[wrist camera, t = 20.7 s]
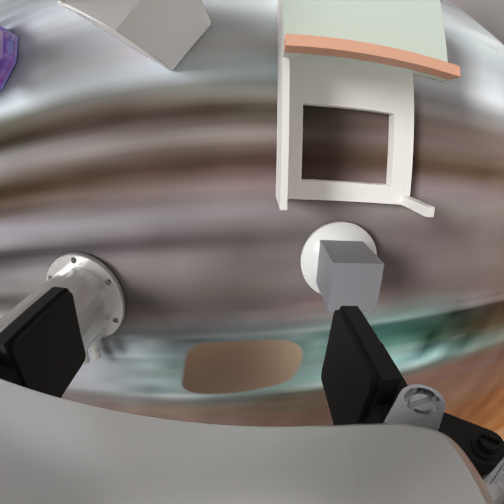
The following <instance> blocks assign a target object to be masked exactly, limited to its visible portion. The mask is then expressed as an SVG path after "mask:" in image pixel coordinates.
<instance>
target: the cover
mask: <svg viewBox="0 0 504 504" xmlns="http://www.w3.org/2000/svg"><path fill="white" fill-rule="evenodd" d="M282 37H283V57H293V58H308V59H320V60H330V61H338V62H346V63H354V64H361V65H367V66H373V67H379V68H384V69H390V70H395V71H400V72H404V73H409V74H413V75H417V76H422V77H426V78H430V79H433V80H437V81H441V82H442V81H446V80H450V79H454V78H458V77H461V75H460V66H458V65H455V64H452V63H449V62H448V59H447V48H446V39H445V31H444V23H443V16H442V10H441V4H440V0H282Z"/></svg>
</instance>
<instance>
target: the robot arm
mask: <svg viewBox="0 0 504 504" xmlns="http://www.w3.org/2000/svg"><path fill="white" fill-rule="evenodd" d="M124 315H125V299H124V294H123V291H122V288H121V286H120V284H119V282H118V280H117V279H116V277H115V276H114V274H113V273H112V272H111V271H110V270H109V269H108V268H107V267H106V265H105V264H103V263H102V262H101V261H99V260H98V259H96V258H94V257H92V256H90V255H88V254H84V253H79V252H72V253H67V254H65V255H62V256H61V257H59V258H58V259H56V260H55V261H54V262H53V263H52V264H51V266H50V268H49V270H48V273H47V276H46V282H45V283H44V284H43V285H41V286H40V287H39V288H38V289H36V290H35V291H34V292H32V293H31V294H30V295H29V296H27V297H26V298H25V299H24V300H23V301H21V302H20V303H19V304H18V305H16V306H15V307H14V308H13V309H12V310H10V311H9V312H8V313H7V314H6V315H4V316H3V317H2V318H1V319H0V504H504V441H503V440H502V438H501V437H500V436H499V435H498V434H497V433H495V432H493V431H491V430H488V429H486V428H483V427H480V426H478V425H475V424H472V423H470V422H467V421H465V420H462V419H460V418H457V417H455V416H452V415H450V414H447V413H445V412H444V410H445V401H444V398H443V397H442V395H441V394H440V393H439V392H438V391H436V390H435V389H433V388H431V387H429V386H425V385H421V384H414V385H409V386H408V385H407V384H406V382H405V380H404V379H403V377H402V375H401V373H400V372H399V370H398V368H397V367H396V365H395V363H394V362H393V360H392V359H391V357H390V355H389V354H388V352H387V350H386V349H385V347H384V345H383V344H382V343H381V342H380V341H379V339H378V337H377V336H376V334H375V333H374V331H373V329H372V328H371V326H370V325H369V323H368V321H367V320H366V318H365V317H364V315H363V313H362V312H361V310H360V309H359V307H358V306H341V307H340V309H339V310H335V311H334V315H333V320H332V325H331V330H330V335H329V340H328V345H327V350H326V354H325V359H324V364H323V368H322V373H321V379H322V384H323V387H324V391H325V394H326V398H327V401H328V405H329V408H330V412H331V415H332V419H333V423H334V425H327V426H296V427H261V426H234V425H218V424H205V423H194V422H184V421H175V420H168V419H160V418H153V417H147V416H140V415H135V414H129V413H123V412H118V411H113V410H108V409H104V408H99V407H95V406H90V405H86V404H82V403H78V402H74V401H70V400H67V399H63V398H61V397H62V395H63V393H64V392H65V390H66V389H67V387H68V386H69V384H70V383H71V381H72V379H73V378H74V376H75V375H76V373H77V372H78V370H79V369H80V367H81V366H82V365H83V364H87V363H89V362H90V357H89V354H88V348H89V347H90V351H91V355H92V358H93V359H99V358H100V357H101V353H100V349H99V347H98V343H99V341H100V340H101V339H102V338H104V337H107V336H109V335H111V334H113V333H114V332H115V331H116V330H117V329H118V327H119V326H120V325H121V323H122V321H123V319H124Z"/></svg>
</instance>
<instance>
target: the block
mask: <svg viewBox="0 0 504 504" xmlns="http://www.w3.org/2000/svg"><path fill="white" fill-rule="evenodd" d="M383 270H384V263H383V262H382V261H381V260H380V259H379V258H378V256H377V255H376V254H375V253H374V252H373V251H372V250H371V249H370V248H369V247H368V246H367V245H366V244H365V243H364V242H363V241H339V240H320V245H319V256H318V267H317V277H316V283H317V286H318V288H319V291H320V294H321V296H322V299H323V302H324V304H325V307H326V310H327V312H334V311H335V310H339V309H340V307H341V306H358V307H359V309H360V310H361V312H362V311H376V307H377V302H378V297H379V292H380V287H381V281H382V275H383Z"/></svg>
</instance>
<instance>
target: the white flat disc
mask: <svg viewBox="0 0 504 504" xmlns="http://www.w3.org/2000/svg"><path fill="white" fill-rule="evenodd" d="M320 240H339V241H363V242H364V243H365V244H366V245H367V246H368V247H369V248H370V249H371V250H372V251H373V252H374V253H375V254H376V255H377V251H376V247H375V244H374V242H373V240H372V238H371V237H370V235H369V234H368V233H367V232H366V231H365V230H364V229H362V228H361V227H360V226H358V225H356V224H354V223H352V222H348V221H333V222H329V223H326V224H324V225H322V226H320V227H319V228H317V229H316V230H315V231H313V232H312V233H311V234H310V236H309V237H308V238H307V240H306V241H305V243H304V245H303V248H302V251H301V256H300V265H301V270H302V273H303V276H304V278H305V280H306V282H307V283H308V285H309V286H310V287H311V288H312V289H313V290H315V291H316V292H318V293H320V291H319V288H318V286H317V283H316V277H317V267H318V256H319V245H320Z"/></svg>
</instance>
